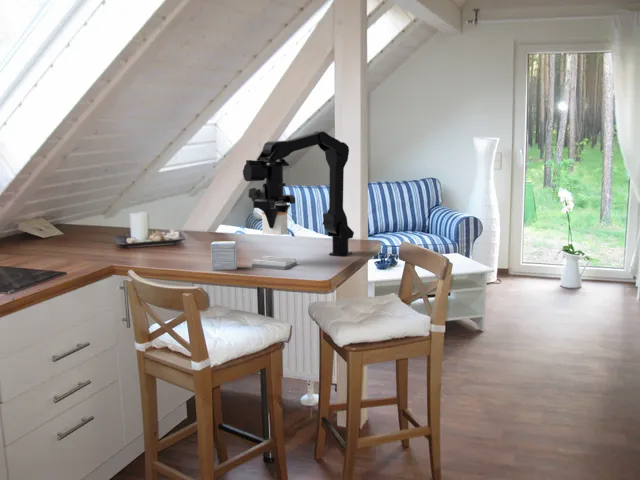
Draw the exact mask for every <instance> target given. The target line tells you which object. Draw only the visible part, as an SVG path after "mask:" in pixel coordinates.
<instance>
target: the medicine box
mask: <svg viewBox="0 0 640 480" xmlns="http://www.w3.org/2000/svg"><path fill="white" fill-rule="evenodd" d="M237 249H238V248H237V241H233V240H232V241H212V243H211V244H210V255H211V256H210V257H211V260H210V261H211V271H220V270H221V271H223V270H224V271H226V270H228V271H229V270H230V271H231V270H233V271H234V270H237V269H238V254H237V252H238V250H237Z"/></svg>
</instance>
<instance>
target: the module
mask: <svg viewBox="0 0 640 480" xmlns="http://www.w3.org/2000/svg"><path fill="white" fill-rule="evenodd" d="M261 219H262V220H261V222H262V223H261V225H262V226H261V227H262V228H261V231H262V234H263V235H264V234H265V235H277V236H283V235H286V234H288V211H287V212H277V216H276V220H275V224H274V227H273V228H270V227H269V224H268V221H267V218H266V215H265V213H264V212H263V211H262V212H261Z"/></svg>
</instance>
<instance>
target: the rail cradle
mask: <svg viewBox="0 0 640 480" xmlns="http://www.w3.org/2000/svg"><path fill="white" fill-rule="evenodd" d="M296 260H297V258H295V257H286V256H285V257H284V256H270V255H263V256H262V259H252V263H251V267H252V268H258V267H259V269H260V268H261V269H269V268H270V270H283V271H285V270H287V269H290V268H292V267H294V266H296V265H298V263H297V262H298V261H296Z"/></svg>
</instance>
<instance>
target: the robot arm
mask: <svg viewBox="0 0 640 480" xmlns="http://www.w3.org/2000/svg"><path fill="white" fill-rule="evenodd" d="M314 146H317V147H318V148H319V149H320V150H322V151H323V152H324V154H325V160H326V161H325V162H326V163H327V165H328V167H329V184H328V185H329V193H328V194H329V195H328V196H329V197H328V201H329V202H328V209H327V212H324V213H323V214H322V218H323V219H322V220H323V221H322V226H323V228H324V230H325V231H326V232H327V236H328V237H331V238H332V239H331V240H332V241H331V243H332V251H331V252H329V253H328V255H329V256H341V257H347V256H349V255H351V254H352V253H353V252H352V251H349V240H350V239H353V238H354V234H355V232H354V231H353V230H352V229H351V228H350V227H349V225H348V223H349V222H348V218H347V215H346V212H345V210H344V180H345V179H344V175H345V173H344V169H345V166H346V165H347V162H348V160H349V153H350V147H349V145H348V144H347V143H345V142H344V141H340V140H339V139H337V138H335V137H333V136H331V135H330V134H328V133H327V132H326V131H314V132H312V133H308V134H304V135H302V136H298V137H295V138H291V139H287V140H275V141H273V140H272V141H267V142H265V143H264V145H263V147H262V150H261V152H260V154H259V155H258V157H257V159H256V160H253V159H246V161H245V164H244V167H243V170H242V175H243V176H242V177H243V179H244V181H246V182H259V181H260V182H262V181H265V183H263V184H262V187H261V188H259V189H257V188H256V187H253V188H249V189H248V198H249V199H251V201H252V207H253V209H259V210H261V212H262V213H263V212H264V213H265V215H266V218H267V221H268V224H269V227H270V228H273V227H274V224H275V220H276V216H277V212H287V213H288V210H289V209H290V207H291V205H292V204H296V197H295V196H294V195H293V194H284V187H286V185H287V184H286V182H284V167H289V166H290V163H288V162H287V161H286V159H285V158H286V157H288V156H290V154H292V153H293V152H297V151H299V150H304V149H307V148H310V147H314ZM287 203H288V204H287ZM290 204H291V205H290Z"/></svg>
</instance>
